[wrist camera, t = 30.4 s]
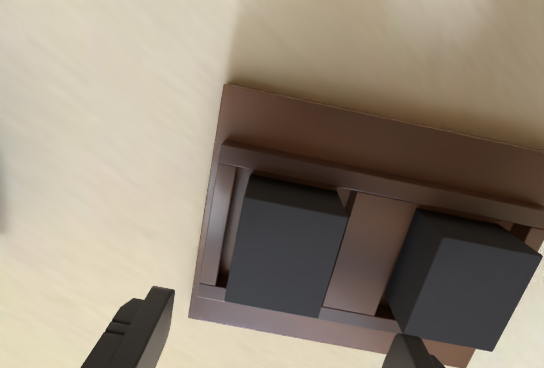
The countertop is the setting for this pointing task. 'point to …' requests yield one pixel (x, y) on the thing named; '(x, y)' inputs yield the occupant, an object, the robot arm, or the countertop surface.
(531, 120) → the countertop surface
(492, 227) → the dark grey block
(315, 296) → the dark gray block
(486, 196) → the brown base tray
